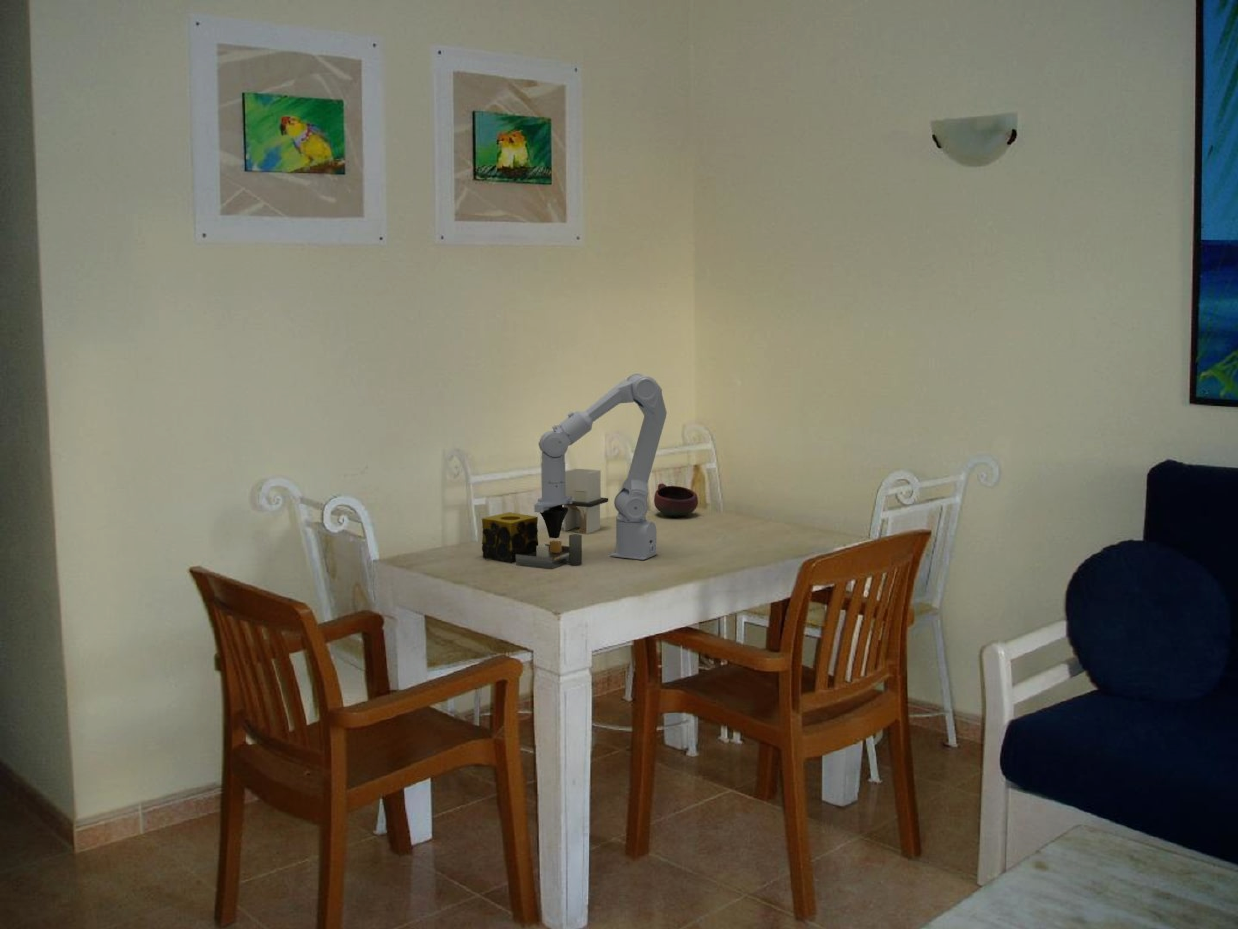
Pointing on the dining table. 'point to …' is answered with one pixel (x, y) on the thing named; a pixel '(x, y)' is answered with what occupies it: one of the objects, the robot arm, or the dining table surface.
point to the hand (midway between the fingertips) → (554, 537)
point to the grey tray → (544, 559)
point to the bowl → (675, 500)
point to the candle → (509, 536)
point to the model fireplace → (583, 500)
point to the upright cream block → (542, 550)
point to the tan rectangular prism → (555, 546)
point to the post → (575, 549)
